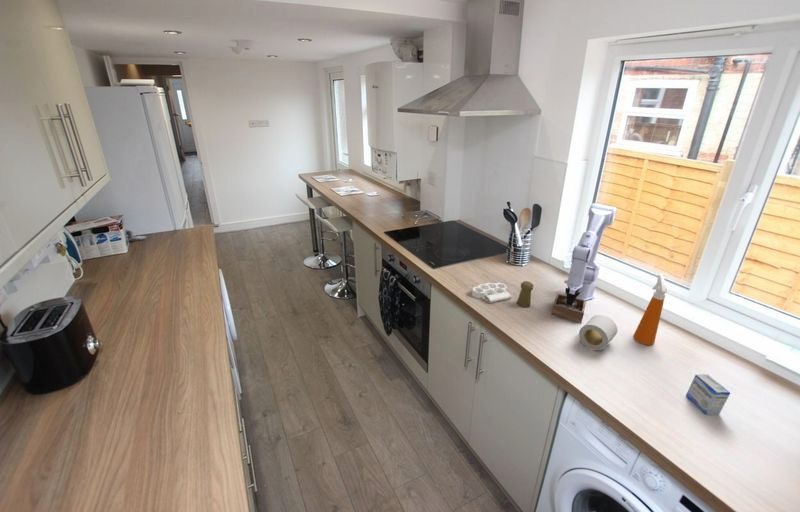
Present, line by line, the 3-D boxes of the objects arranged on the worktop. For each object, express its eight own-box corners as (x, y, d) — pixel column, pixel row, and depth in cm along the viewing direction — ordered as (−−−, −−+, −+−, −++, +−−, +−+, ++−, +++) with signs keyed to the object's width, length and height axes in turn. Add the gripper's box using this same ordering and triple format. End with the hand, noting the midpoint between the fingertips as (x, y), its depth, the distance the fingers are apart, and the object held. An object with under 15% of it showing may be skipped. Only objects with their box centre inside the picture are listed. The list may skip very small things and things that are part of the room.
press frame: (554, 302, 167) (557, 293, 165) (583, 310, 161) (586, 300, 160) (550, 314, 157) (553, 304, 155) (581, 323, 152) (583, 313, 150)
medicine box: (685, 395, 116) (694, 373, 112) (698, 395, 116) (708, 373, 112) (706, 415, 108) (717, 392, 105) (720, 414, 109) (731, 392, 105)
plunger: (558, 304, 165) (561, 291, 162) (579, 310, 161) (583, 297, 158) (555, 313, 157) (558, 300, 155) (577, 319, 154) (581, 306, 151)
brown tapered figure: (531, 308, 161) (535, 286, 157) (517, 306, 162) (521, 285, 158) (529, 301, 167) (533, 280, 163) (515, 300, 168) (519, 278, 164)
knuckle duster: (483, 306, 163) (466, 291, 175) (516, 299, 169) (497, 285, 182) (484, 299, 162) (466, 285, 174) (517, 293, 168) (498, 279, 181)
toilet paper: (586, 332, 146) (592, 310, 142) (613, 343, 140) (620, 321, 136) (576, 342, 140) (582, 320, 136) (604, 355, 133) (611, 332, 129)
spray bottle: (648, 331, 148) (669, 273, 137) (656, 347, 138) (679, 285, 128) (629, 327, 150) (648, 269, 139) (635, 342, 140) (656, 282, 130)
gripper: (568, 265, 159) (562, 292, 165) (564, 277, 148) (557, 306, 153) (586, 269, 156) (579, 296, 162) (583, 282, 145) (576, 311, 150)
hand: (570, 302), depth 157 cm, fingers open, 4 cm apart
